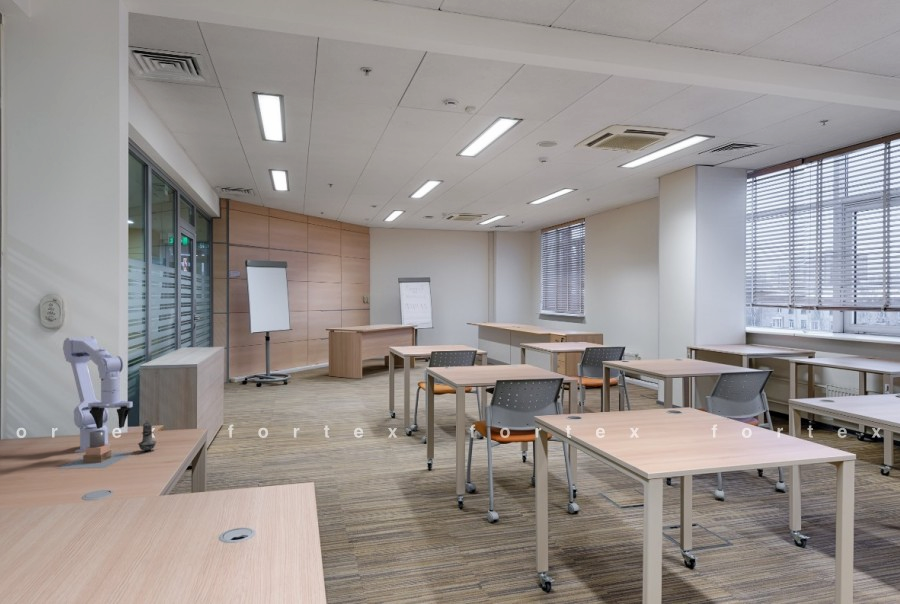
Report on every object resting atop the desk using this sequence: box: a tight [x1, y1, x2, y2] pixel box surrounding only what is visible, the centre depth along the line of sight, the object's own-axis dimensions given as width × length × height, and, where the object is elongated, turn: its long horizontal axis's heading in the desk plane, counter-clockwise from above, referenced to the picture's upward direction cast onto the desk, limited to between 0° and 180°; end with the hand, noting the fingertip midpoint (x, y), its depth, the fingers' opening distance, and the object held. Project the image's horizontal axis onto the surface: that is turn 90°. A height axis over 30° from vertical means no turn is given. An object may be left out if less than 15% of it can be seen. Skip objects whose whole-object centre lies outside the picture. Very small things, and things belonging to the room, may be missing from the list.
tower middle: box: [85, 443, 110, 455], centre depth 183 cm, size 5×5×2 cm
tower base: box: [82, 449, 112, 463], centre depth 183 cm, size 6×6×2 cm
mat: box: [55, 451, 135, 470], centre depth 183 cm, size 18×16×1 cm
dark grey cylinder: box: [90, 430, 105, 448], centre depth 183 cm, size 4×4×5 cm
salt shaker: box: [137, 419, 157, 454], centre depth 194 cm, size 6×6×12 cm
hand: (110, 427), depth 189 cm, fingers open, 7 cm apart
